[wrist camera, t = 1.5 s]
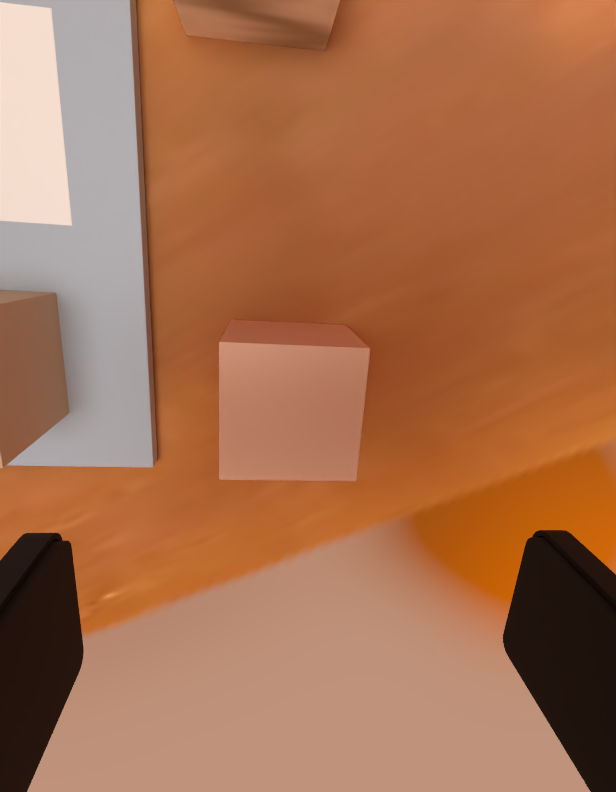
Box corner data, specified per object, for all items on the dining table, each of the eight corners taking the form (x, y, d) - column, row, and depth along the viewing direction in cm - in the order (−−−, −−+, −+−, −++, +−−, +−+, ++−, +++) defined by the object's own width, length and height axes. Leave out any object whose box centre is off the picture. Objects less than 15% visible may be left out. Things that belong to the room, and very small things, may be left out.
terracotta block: (345, 324, 23) (370, 348, 18) (336, 429, 25) (356, 481, 20) (231, 319, 23) (218, 341, 17) (230, 426, 25) (219, 479, 19)
